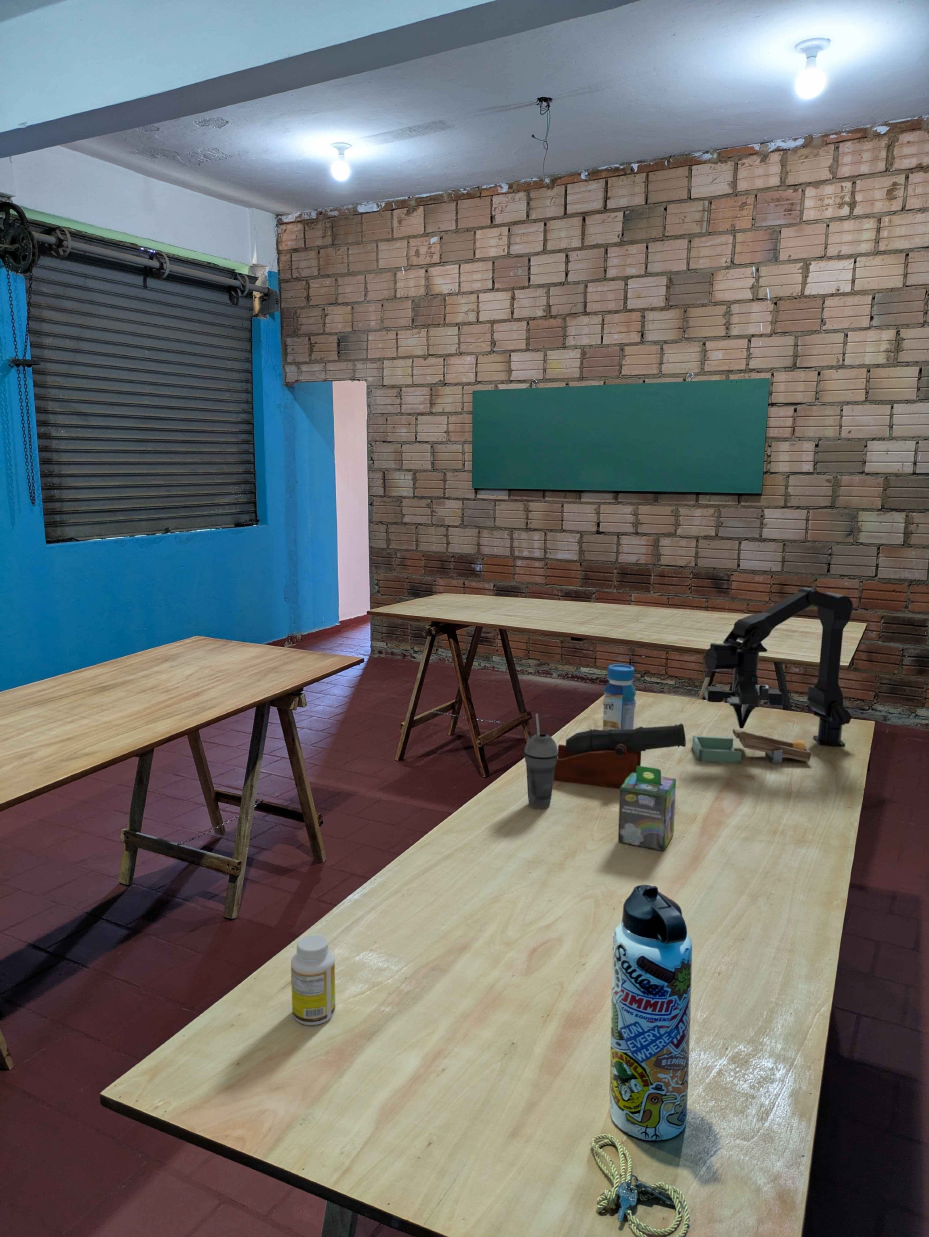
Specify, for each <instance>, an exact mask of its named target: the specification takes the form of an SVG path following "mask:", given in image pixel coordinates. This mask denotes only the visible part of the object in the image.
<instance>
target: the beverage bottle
mask: <svg viewBox="0 0 929 1237" xmlns="http://www.w3.org/2000/svg"><path fill="white" fill-rule="evenodd" d="M634 679H635V667H633V666H632V665H629V664H619V663H618V664H617V663H616V664H610V665H609V666H608V667H607V680H609V681H608V682H607V683H606V685H605V687H604V690H603V694H604V698H603V699H602V706H603V710H602V712H603V715H602V718H603V719H602V730H606V731H609V730H610V729H634V723H635V709H636V705H637V701H636V699H635V697H636V695H637V692H636V688H635V686H634V684H633V681H634Z"/></svg>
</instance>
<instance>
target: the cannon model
mask: <svg viewBox="0 0 929 1237" xmlns="http://www.w3.org/2000/svg"><path fill="white" fill-rule="evenodd" d="M686 738H687V737H686V732H685V727H684V724H683V723H680V724H676V723H675V724H674V725H666V726H649V727H648V726H646V727H643V726H639V727H636V728H633V729H610V730H609V731H606V730H603V729H597V728H593V729H591V728H590V729H589V730H585V731H581V732H580V731H579V732H576V733H574V734H573V735H571V736H570V737H569V738H566V739H565V744H559V743H558V745H557V749H558V757H557V762H556V765H555V772H554V780H553V782H561V783H569V784H577V785H583V786H592V787H599V788H607V789H613V790H614V789H615V790H620V787H621V786H622V784H623V783H624V782H625V780H626V779H627V777H628V776H629V775H630V774H631V773H636V767H637V766H641V764H642V763H641V762H642V752H646V751H647V750H648V751H649V750H657V749H663V748H666V749H667V748H673V747H678V748H680V747H682V748H685V747H686V745H687V740H686Z"/></svg>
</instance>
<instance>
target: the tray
mask: <svg viewBox="0 0 929 1237" xmlns="http://www.w3.org/2000/svg"><path fill="white" fill-rule="evenodd" d="M691 745H692V746H691V748H692V750H693V752H694V755H695V756H696V760H697V761H698V762H703V763H717V764H720V763H721V764H736V765H737V764H739V765H741V763H742V751H741V750H735V749H734V737H719V736H704V735H703V736H702V735H701V736H700V735H693V736H692V744H691Z"/></svg>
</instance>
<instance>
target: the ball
mask: <svg viewBox="0 0 929 1237" xmlns="http://www.w3.org/2000/svg"><path fill="white" fill-rule="evenodd" d="M792 743H793V748H794V749H799V750H803V751H804V750H805V748H806V747H807V744H806V743H805V742H804V741H803V740H795V741H794V742H792Z"/></svg>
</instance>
